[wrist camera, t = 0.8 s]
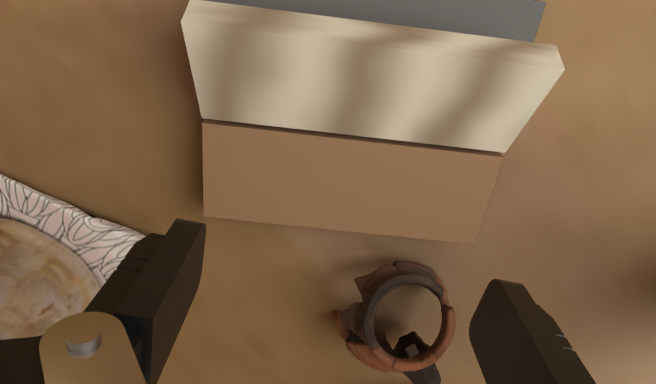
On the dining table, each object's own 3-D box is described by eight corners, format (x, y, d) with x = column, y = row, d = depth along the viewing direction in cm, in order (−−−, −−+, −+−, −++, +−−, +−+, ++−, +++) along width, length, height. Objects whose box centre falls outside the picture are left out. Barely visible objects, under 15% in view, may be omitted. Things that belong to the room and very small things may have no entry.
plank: (555, 45, 23) (564, 69, 22) (500, 130, 29) (505, 152, 28) (190, -2, 22) (180, 21, 21) (208, 96, 28) (201, 118, 27)
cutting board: (541, 1, 26) (562, 3, 24) (469, 232, 34) (479, 250, 32) (202, -43, 25) (189, -46, 23) (206, 204, 33) (196, 221, 31)
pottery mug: (305, 292, 37) (326, 316, 29) (387, 228, 39) (428, 235, 31) (380, 395, 39) (419, 445, 31) (455, 329, 41) (511, 360, 33)
